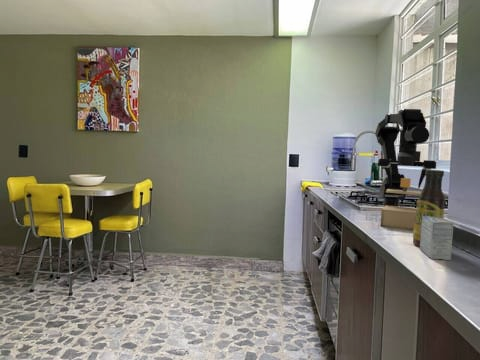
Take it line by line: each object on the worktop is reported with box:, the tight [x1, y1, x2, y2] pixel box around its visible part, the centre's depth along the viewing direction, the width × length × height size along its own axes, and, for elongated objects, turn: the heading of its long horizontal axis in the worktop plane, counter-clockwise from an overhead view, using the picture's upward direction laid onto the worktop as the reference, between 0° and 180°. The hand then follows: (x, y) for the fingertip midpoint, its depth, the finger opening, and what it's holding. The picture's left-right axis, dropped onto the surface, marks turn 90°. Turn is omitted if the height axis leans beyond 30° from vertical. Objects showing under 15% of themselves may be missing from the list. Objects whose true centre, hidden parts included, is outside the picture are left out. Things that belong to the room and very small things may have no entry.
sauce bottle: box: [412, 169, 446, 247], centre depth 89 cm, size 6×6×20 cm
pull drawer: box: [386, 177, 422, 196], centre depth 122 cm, size 7×12×5 cm, turn 63°
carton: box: [380, 205, 417, 231], centre depth 117 cm, size 15×12×6 cm
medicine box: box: [419, 216, 454, 261], centre depth 81 cm, size 8×4×9 cm, turn 168°
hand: (404, 187), depth 126 cm, fingers open, 9 cm apart
